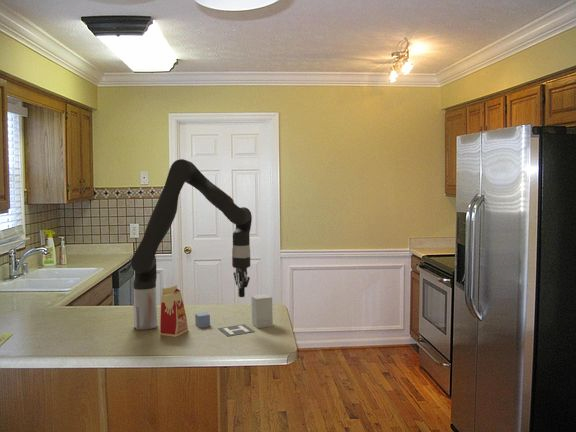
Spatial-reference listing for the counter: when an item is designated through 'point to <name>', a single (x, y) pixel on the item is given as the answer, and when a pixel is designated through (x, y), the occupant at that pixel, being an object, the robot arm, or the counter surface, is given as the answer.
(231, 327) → the letter mat
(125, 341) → the counter surface
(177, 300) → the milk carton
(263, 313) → the supplement box
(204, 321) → the slate blue cube
